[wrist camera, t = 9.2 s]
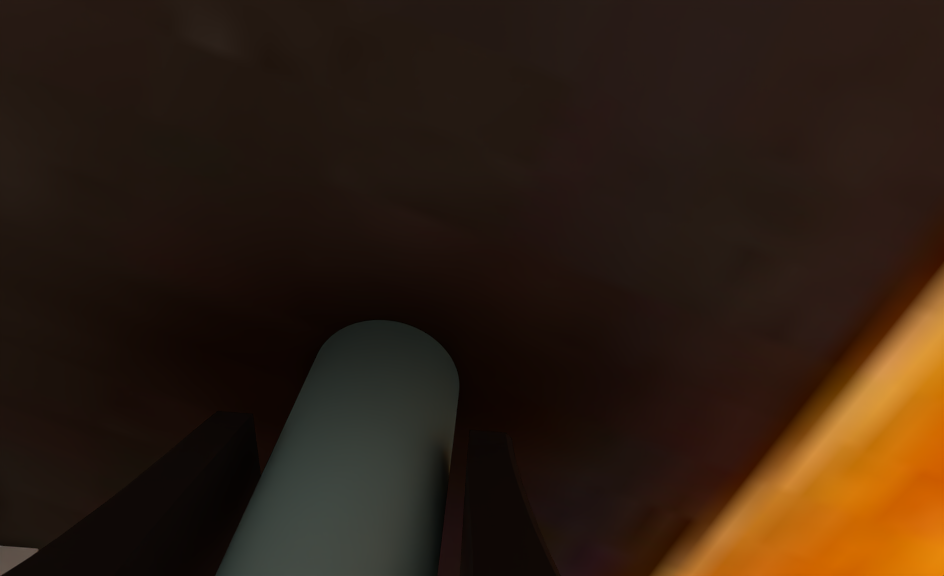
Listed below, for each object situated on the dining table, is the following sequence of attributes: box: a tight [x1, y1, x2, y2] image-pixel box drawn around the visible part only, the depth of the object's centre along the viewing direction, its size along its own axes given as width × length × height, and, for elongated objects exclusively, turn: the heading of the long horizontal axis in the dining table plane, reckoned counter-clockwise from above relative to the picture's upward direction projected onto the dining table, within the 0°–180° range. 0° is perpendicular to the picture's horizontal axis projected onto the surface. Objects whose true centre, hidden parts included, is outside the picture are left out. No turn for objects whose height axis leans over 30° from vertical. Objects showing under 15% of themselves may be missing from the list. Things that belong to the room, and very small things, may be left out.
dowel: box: [215, 320, 459, 576], centre depth 10 cm, size 3×3×8 cm
